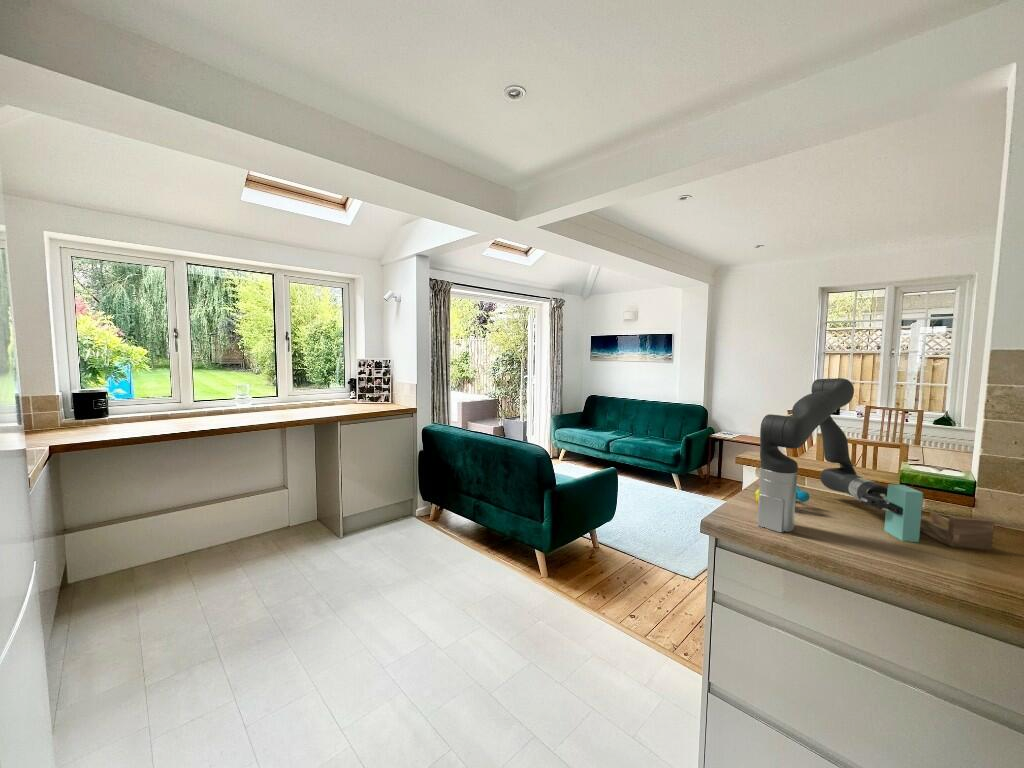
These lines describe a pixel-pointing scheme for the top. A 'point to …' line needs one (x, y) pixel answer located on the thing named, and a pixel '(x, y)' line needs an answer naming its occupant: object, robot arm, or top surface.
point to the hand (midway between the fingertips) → (910, 512)
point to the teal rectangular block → (904, 513)
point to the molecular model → (800, 495)
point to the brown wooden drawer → (960, 531)
